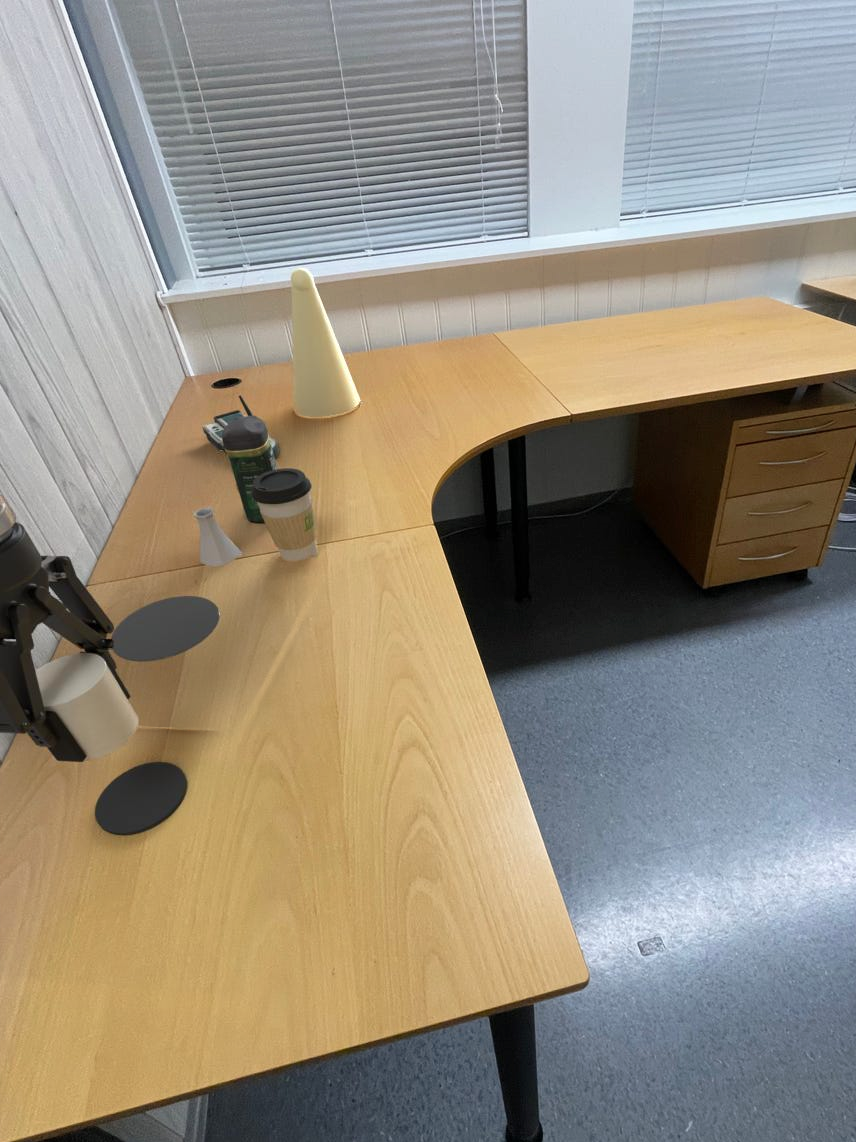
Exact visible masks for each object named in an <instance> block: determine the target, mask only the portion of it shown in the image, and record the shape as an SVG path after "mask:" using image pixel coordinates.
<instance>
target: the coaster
mask: <svg viewBox="0 0 856 1142" xmlns="http://www.w3.org/2000/svg"><path fill="white" fill-rule="evenodd" d="M187 788H188V780H187V777H186V774H185V773H184V771H183V770H182V769H181V768H180V767H179V766H177V765H176V764H174V763H171V762H167V761H151V762H146V763H142V764H139V765H137V766H133V767H131V768H130V769H127V770H126V771H124V772H122V773H121V774H119V775H118V776H117V777H115V778H114V779H113V780H111V782H110V783H108V785H107V786H105V788H104V790H103V791H102V792H101V793H100V795H99V797H98V799H97V801H96V804H95V806H94V818H95V821H96V823H97V824H98V826H99V827H100V828H101V829H102V830H103V831H104V832H106V833H108V834H111V835H115V836H133V835H137V834H140V833H143V832H146V831H148V830H151V829H153V828H155V827H156V826H158V825H160V824H162V823H164V821H165V820H167V819H168V818H169V817H171V816H172V815H173V814H174V813H175V811H177V809H178V808H179V807H180V805H181V804H182V802H183V800H184V798H185V796H186V793H187Z"/></svg>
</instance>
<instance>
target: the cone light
mask: <svg viewBox="0 0 856 1142" xmlns="http://www.w3.org/2000/svg"><path fill="white" fill-rule="evenodd" d="M290 283H291V323H292V324H291V326H292V328H291V329H292V331H291V332H292V335H291V336H292V378H293V379H292V381H293V384H292V385H293V412H294V411H295V412H296V413H298V414H300V415H303V416H309V417H323V416H330V415H336V414H341V413H344V412H347V411H349V410H351V409H353V408H354V407H356V406H357V405H358V404H359V402H360V401H361V399H360V396H359V393H358V391H357V388H356V386H355V383H354V381H353V378H352V376H351V373H350V371H349V368H348V365H347V363H346V361H345V358H344V355H343V352H342V350H341V348H340V344H339V342H338V340H337V337H336V334H335V332H334V330H333V328H332V324H331V322H330V319H329V317H328V315H327V313H326V309H325V307H324V304H323V302H322V300H321V297H320V295H319V291H318V289H317V287H316V284H315V279H314V276H313V275H312V273H311V272H310V270H308V269H307V268H303V267H298V268H296V269H295V270H293V271H292V273H291V275H290Z"/></svg>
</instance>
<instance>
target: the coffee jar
mask: <svg viewBox="0 0 856 1142" xmlns="http://www.w3.org/2000/svg"><path fill="white" fill-rule="evenodd" d="M269 437H270V434H269V432H268V428H267V424H266V422H265V421H264V419H262V418H260V417H258V416H256V415H253V416H248V415H245V416H243V417H235V418H234V420H232V421H231V422H230V423H229V424H228V425H227V426H226V427H225V429H224V430H223V433H222V437H221V438H222V441H223V445H224V448H225V454H226V456H227V459H228V461H229V464H230V465H229V466H230V467H231V471H232V473H233V476H234V480H235V481H234V482H235V484H236V487H237V490H238V494H239V498H240V501H241V505H242V508H243V511H244V515H245V518H246V519H247V520H248V521H249V522H254V523H261V524H262V523H263V524H264V523H265V522H264V519H263V517H262V515H261V513H260V508H259V506H258V503H257V502H256V501H255V500H254V499H253V498H252V493H251V491H252V488H253V481H254V480H255V478H257V477H258V476H259V475H261V474H263V473H265V472H268V471H271V470H276V469H278V466H277V462H276V459H275V458H274V455H273V451H272V447H271V442H270V438H269Z"/></svg>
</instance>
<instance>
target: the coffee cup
mask: <svg viewBox="0 0 856 1142" xmlns="http://www.w3.org/2000/svg"><path fill="white" fill-rule="evenodd" d="M311 490H312V482H311V480H310V479H309V478H308V477H307V476H306V474H305V473H304V471H302V470H300V469H297V468H292V467H290V468H289V467H288V468H287V467H286V468H284V467H283V468H277V469H276V470H271V471H268V472H265V473H263V474H261V475H259V476H258V477H257V478H255V480H254V481H253V488H252V491H251V493H252V498H253V499H254V500H255V501H256V502H257V503H258V506H259V508H260V513H261V515H262V517H263V519H264V522H263V523H264V524H265V526H266V529H267V530H268V533H269V535H270V538H271V539H272V541H273V544H274V546H275V547H276V548H277V551H278V553H279V555H280V557H281V559H283V560H285V561H288V562H300V561H304V560H307V559H309V558H310V559H311V558H313V559H314V558H315V557H316V556H317V557H318V554H317V553H318V547H317V539H316V538H317V532H316V522H315V515H314V506H313V500H312V498H311V497H312V496H311ZM317 557H316V558H317ZM316 558H315V559H316Z"/></svg>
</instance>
